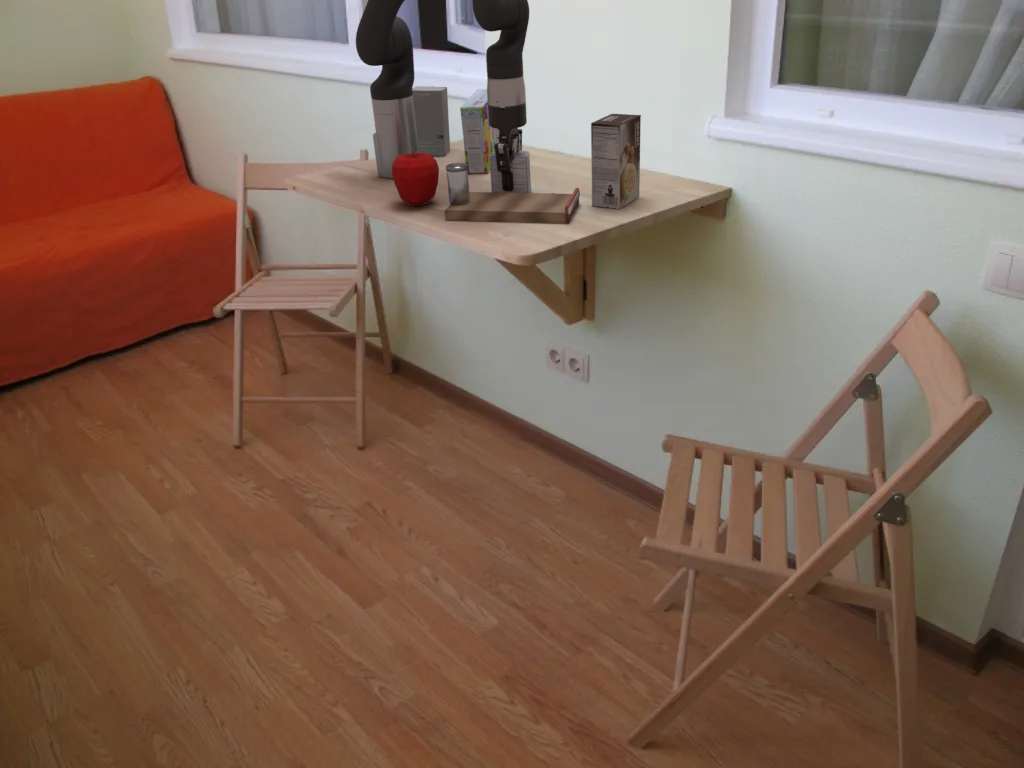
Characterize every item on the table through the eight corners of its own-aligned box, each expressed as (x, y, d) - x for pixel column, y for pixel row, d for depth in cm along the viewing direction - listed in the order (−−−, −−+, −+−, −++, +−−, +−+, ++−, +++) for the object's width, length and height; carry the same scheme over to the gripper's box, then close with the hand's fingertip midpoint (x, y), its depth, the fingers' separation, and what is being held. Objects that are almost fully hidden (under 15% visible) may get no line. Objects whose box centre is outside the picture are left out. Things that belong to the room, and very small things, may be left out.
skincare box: (413, 157, 203) (406, 90, 195) (420, 150, 209) (413, 85, 201) (446, 156, 201) (440, 89, 193) (453, 149, 207) (447, 84, 200)
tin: (446, 205, 159) (442, 168, 155) (452, 198, 163) (449, 162, 159) (467, 205, 158) (464, 168, 154) (473, 199, 162) (470, 162, 158)
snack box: (480, 151, 204) (475, 88, 197) (502, 151, 203) (499, 88, 196) (464, 175, 186) (459, 106, 178) (489, 174, 185) (484, 105, 178)
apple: (429, 212, 162) (424, 157, 157) (386, 209, 165) (379, 155, 160) (449, 197, 170) (445, 145, 165) (408, 195, 173) (402, 143, 168)
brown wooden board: (445, 220, 157) (444, 203, 156) (463, 201, 167) (462, 186, 166) (569, 223, 152) (569, 206, 150) (580, 203, 162) (579, 187, 160)
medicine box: (531, 191, 171) (529, 150, 167) (529, 198, 167) (528, 155, 163) (494, 192, 172) (491, 151, 168) (491, 199, 168) (488, 156, 164)
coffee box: (611, 193, 167) (611, 112, 159) (640, 197, 164) (642, 114, 156) (590, 206, 160) (590, 122, 152) (620, 210, 157) (621, 124, 149)
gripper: (497, 94, 167) (502, 176, 176) (478, 108, 155) (484, 196, 164) (533, 93, 166) (536, 177, 174) (516, 108, 154) (521, 197, 162)
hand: (511, 186), depth 169 cm, fingers open, 5 cm apart
